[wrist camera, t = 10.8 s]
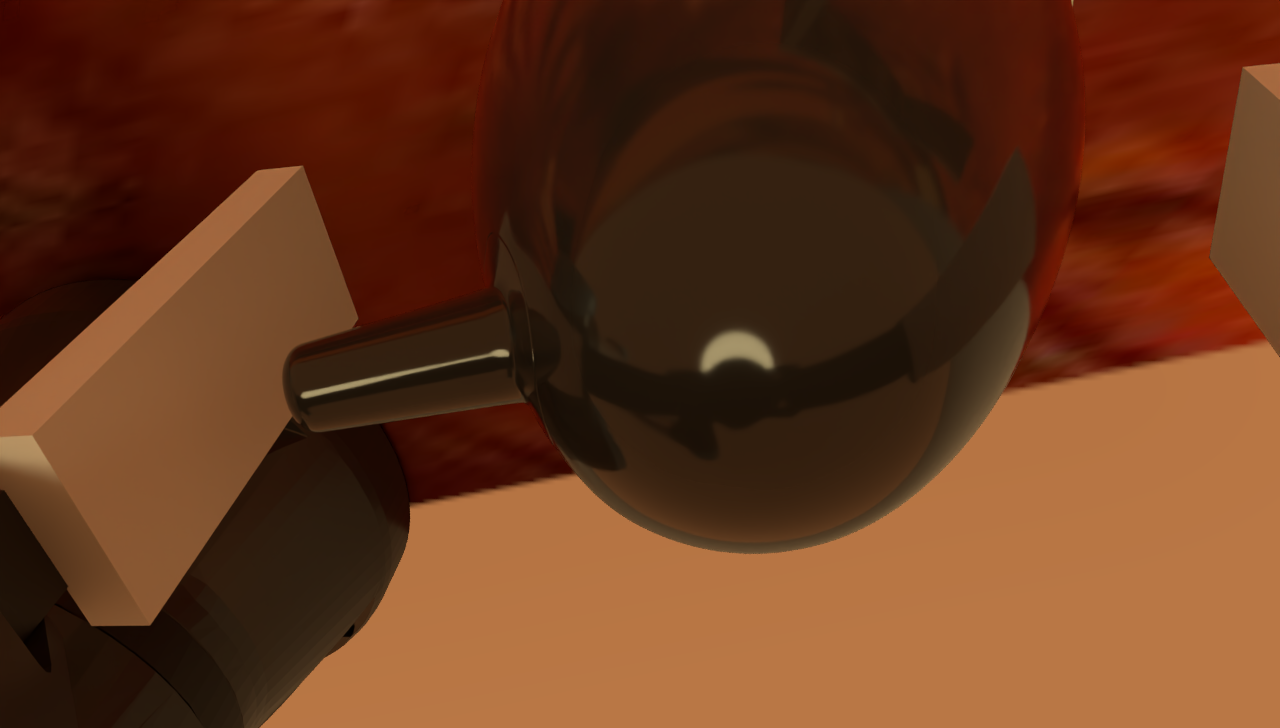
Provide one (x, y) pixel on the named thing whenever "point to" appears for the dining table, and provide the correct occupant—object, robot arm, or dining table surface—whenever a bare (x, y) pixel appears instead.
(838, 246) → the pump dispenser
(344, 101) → the dining table surface
